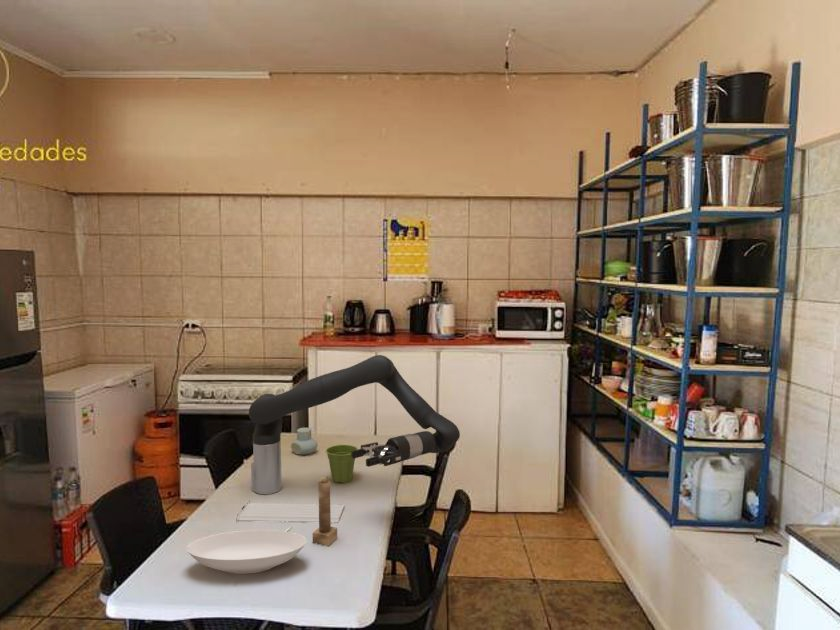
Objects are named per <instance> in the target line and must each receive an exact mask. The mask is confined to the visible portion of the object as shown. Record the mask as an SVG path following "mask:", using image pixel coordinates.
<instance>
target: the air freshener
mask: <svg viewBox="0 0 840 630" xmlns="http://www.w3.org/2000/svg"><path fill="white" fill-rule="evenodd" d="M318 446H319V445H318V442H317V441H316V439H314V438H312V429H311V427H300V428H298V429H297V430H296V439H294V440H293V441H292V442H291V445H290V448H291V450H292V451H293V453H294V454H297V455H298V456H304V455H305V456H306V455H309V454H310V455H311V454H312V453H314V452H315V451H316V450H317V448H318Z"/></svg>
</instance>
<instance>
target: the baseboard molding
mask: <svg viewBox="0 0 840 630" xmlns="http://www.w3.org/2000/svg"><path fill="white" fill-rule="evenodd" d="M250 501H251V500H249V501H248V502H247V503H246V504H244V505H243V506H242V508H241V513H238V514H237V517H238V518H237V522H252V521H284V522H283V523H308V522H319V503H317V504H313V503H312V504H311V503H310V504H309V503H306V504H305V503H304V504H302V503H258V502H257V503H255V502H254V503H253V502H251V503H250ZM248 503H249V504H248ZM343 509H344V510H345V504H330V516H331V522H334V523H333V524H339V522H340V520H341V518H340V517H342V515H341V514H343V513H342V512H344V510H343ZM339 519H340V520H339ZM286 521H288V522H286Z"/></svg>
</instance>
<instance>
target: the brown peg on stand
mask: <svg viewBox="0 0 840 630" xmlns="http://www.w3.org/2000/svg"><path fill="white" fill-rule="evenodd" d="M317 485H318V505H319V523H318V527H317V528H316V529H315V530H314V531H313V532H312V544H315V543H317V544H316V545H319V544H322V545H321V546H324V545H326V547H330V545H331V544H333V543H334V542H335V541H334V540H335V539H336V538H337V539H338V527H334V526H331V524H332V523H331V516H330V505H331V482H330V480H328V477H327V476H322V477H321V478H320V480H319V481H318V482H317ZM337 539H336V540H337Z"/></svg>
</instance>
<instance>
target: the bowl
mask: <svg viewBox="0 0 840 630" xmlns="http://www.w3.org/2000/svg"><path fill="white" fill-rule="evenodd" d="M306 544H307V539H306V537H305V536H303V535H302V534H299V533H295V532H290V531H288V532H287V531H285V530H278V529H249V530H247V529H245V530H236V531H228V532H226V531H225V532H222V533H216V534H212V535H208V536H207V535H206V536H204V537H200V538H199V539H195V540H193V541H192V542H190V543H189V544H188V545H187V546H186V551H187V553H188V554H189V555H190V556H191V557H192V558H193V559H194V560H195V561H196V562H198V563H200V564H201V565H203V566H206V567H208V568H210V569H214V570H218V571H222V572H224V573H227V574H236V575H242V574H243V575H247V574H256V573H261V572H265V571H268V570H270V569H273V568H274V567H277V566H280V565H281V564H284V563H286V562H288V561H290V560H291V559H293V558H294V557H296V555H298V554H299V553H300V552H301V550H302V549H303V548H304V547H305V546H306Z"/></svg>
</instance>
